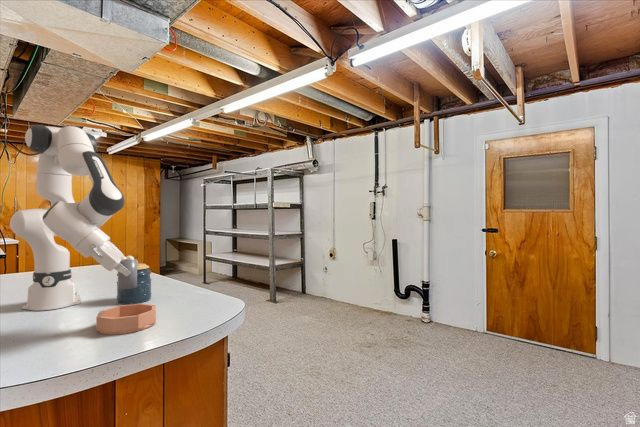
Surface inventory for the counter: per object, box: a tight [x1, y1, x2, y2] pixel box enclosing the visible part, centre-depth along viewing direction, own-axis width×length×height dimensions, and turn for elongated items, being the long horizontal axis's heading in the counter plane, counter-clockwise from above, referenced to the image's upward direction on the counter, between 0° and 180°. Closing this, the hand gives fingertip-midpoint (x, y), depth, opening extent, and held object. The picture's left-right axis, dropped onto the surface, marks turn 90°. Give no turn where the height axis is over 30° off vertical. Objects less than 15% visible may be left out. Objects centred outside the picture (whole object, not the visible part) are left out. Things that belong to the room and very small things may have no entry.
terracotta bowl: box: [95, 303, 157, 336], centre depth 109 cm, size 16×16×5 cm
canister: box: [116, 260, 153, 305], centre depth 141 cm, size 13×13×18 cm
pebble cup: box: [117, 255, 138, 289], centre depth 109 cm, size 6×6×10 cm
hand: (129, 272), depth 109 cm, fingers closed on pebble cup, 5 cm apart
